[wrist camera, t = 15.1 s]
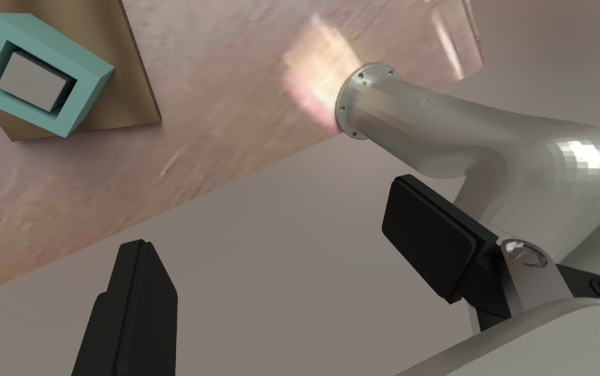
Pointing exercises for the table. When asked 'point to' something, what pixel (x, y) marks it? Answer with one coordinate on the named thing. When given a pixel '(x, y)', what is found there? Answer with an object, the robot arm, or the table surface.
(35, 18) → the collar
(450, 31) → the table surface
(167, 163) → the table surface
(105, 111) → the post board
